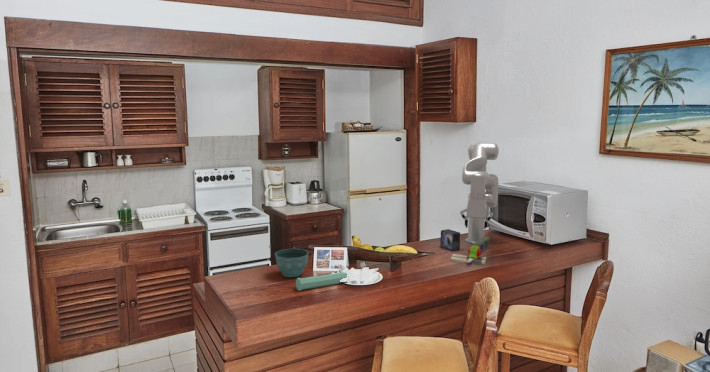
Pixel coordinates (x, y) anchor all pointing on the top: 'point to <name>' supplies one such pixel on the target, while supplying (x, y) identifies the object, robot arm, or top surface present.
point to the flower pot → (291, 261)
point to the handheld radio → (483, 243)
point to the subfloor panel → (465, 257)
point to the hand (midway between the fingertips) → (475, 227)
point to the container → (319, 281)
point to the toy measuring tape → (473, 253)
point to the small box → (450, 240)
